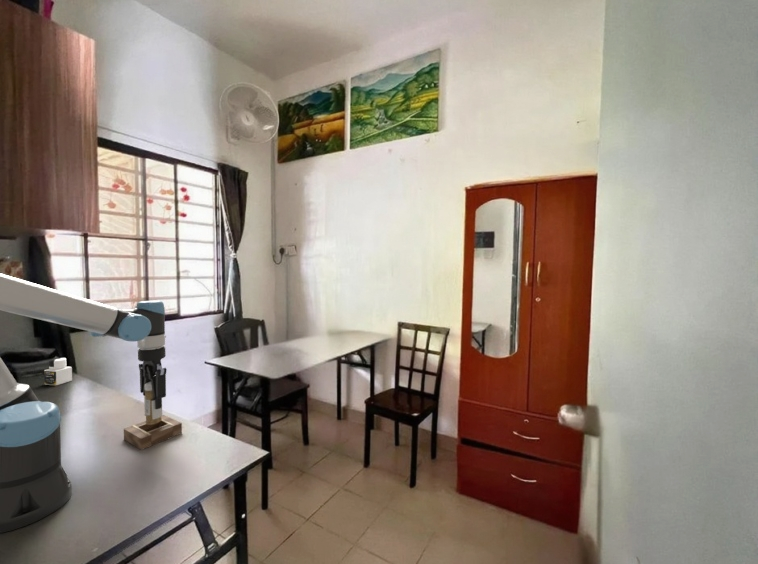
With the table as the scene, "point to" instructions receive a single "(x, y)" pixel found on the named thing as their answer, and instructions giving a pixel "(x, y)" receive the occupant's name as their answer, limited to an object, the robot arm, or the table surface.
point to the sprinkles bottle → (149, 405)
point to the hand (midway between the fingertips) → (153, 415)
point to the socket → (152, 432)
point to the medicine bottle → (57, 372)
